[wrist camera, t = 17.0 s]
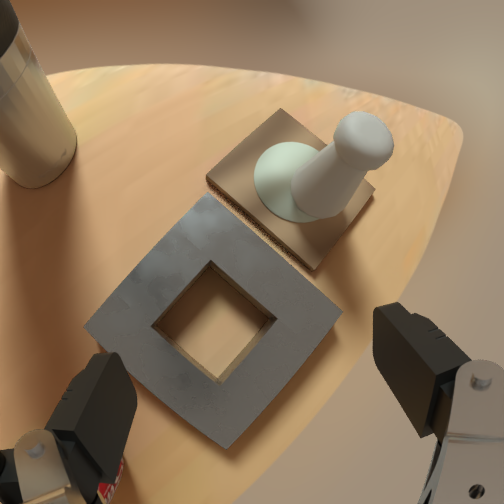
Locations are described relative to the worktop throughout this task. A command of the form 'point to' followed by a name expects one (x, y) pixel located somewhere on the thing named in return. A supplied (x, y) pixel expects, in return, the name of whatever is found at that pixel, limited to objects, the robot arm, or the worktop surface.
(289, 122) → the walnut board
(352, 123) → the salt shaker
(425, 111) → the worktop surface
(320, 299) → the collar block
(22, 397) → the worktop surface
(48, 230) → the worktop surface
